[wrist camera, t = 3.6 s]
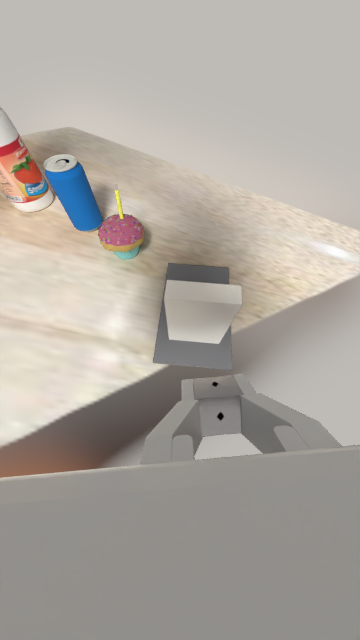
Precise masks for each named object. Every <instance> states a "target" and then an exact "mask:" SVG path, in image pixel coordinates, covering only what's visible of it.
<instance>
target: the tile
mask: <svg viewBox="0 0 360 640" xmlns="http://www.w3.org/2000/svg"><path fill="white" fill-rule="evenodd" d="M164 302H165V310H166V319H167V327H168V335H169V340H180V341H191V342H203V343H214V344H219V343H220V341H221V339H222V338H223V336H224V334H225V333H226V331H227V329H228V328H229V326H230V324H231V323H232V321H233V319H234V318H235V316H236V314H237V313H238V311H239V309H240V308H241V306H242V294H241V286H240V285H227V284H214V283H202V282H189V281H176V280H167V282H166V289H165V295H164Z"/></svg>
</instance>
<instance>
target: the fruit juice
mask: <svg viewBox="0 0 360 640" xmlns="http://www.w3.org/2000/svg"><path fill="white" fill-rule="evenodd" d="M0 189H1V191H2V192H3V193H4V194H5V196H6V197H7V198H8V199H9V201H10V202H11V203H12V204H13V205H14V206H15V207H16V208H17V209H18V210H20V211H23V212H36V211H39V210H42V209H44V208H46V207H48V206H49V205H50V204H51V203H52V201H53V194H52V192H51V190H50V188H49V186H48V184H47V183H46V181H45V179H44V177H43V176H42V174H41V172H40V170H39V169H38V167H37V165H36V163H35V162H34V160H33V158H32V156H31V155H30V153H29V151H28V149H27V148H26V146H25V144H24V142H23V141H22V139H21V137H20V135H19V134H18V132H17V130H16V128H15V127H14V125H13V124H12V122H11V120H10V119H9V117H8V116H7V114H6V113H5V112H4V110H3V109H2V108H1V107H0Z"/></svg>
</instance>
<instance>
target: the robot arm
mask: <svg viewBox="0 0 360 640" xmlns="http://www.w3.org/2000/svg"><path fill="white" fill-rule="evenodd" d="M192 380H193V382H192ZM238 433H242V435H244V436H245V437H246V438H247V439H248V440H249V441H250V442H251V443H252V444H253V445H254V446H255V447H256V448H257V449H259V450H260V451H261V452H262V453H263V454H256V455H245V456H233V457H222V458H213V459H201V460H195V458H194V456H195V453H196V451H197V449H198V447H199V445H200V442H201V440H202V437H205V436H213V435H221V434H238ZM0 640H360V445H352V446H342V445H341V444H340V443H339V442H338V441H337V440H336V439H335V438H334V437H333V436H332V435H331V434H330V433H329V432H328V431H327V430H326V429H325V428H324V427H323V426H322V425H321V424H320V423H319V421H316V420H314V419H312V418H310V417H308V416H306V415H304V414H302V413H300V412H298V411H296V410H294V409H292V408H290V407H288V406H285V405H283V404H281V403H279V402H277V401H275V400H273V399H271V398H269V397H267V396H265V395H263V394H260V393H258V394H257V393H256V391H255V390H254V388H253V387H252V386H251V384H250V383H249V381H248V380H247V378H246V377H245V375H244V374H237V375H230V376H222V377H214V378H200V379H188V380H182V401H179V402H178V403H177V404H176V405H175V406H174V407H173V409H172V410H171V411H170V412H169V413H168V414H167V415H166V416H165V417H164V418H163V419H162V421H161V422H160V423H159V424H158V425H157V426H156V427H155V428H154V429H153V430H152V431H151V433H150V434H149V435H148V436H147V437H146V440H145V444H144V449H143V454H142V459H141V463H140V465H135V466H126V467H115V468H103V469H92V470H81V471H70V472H59V473H49V474H39V475H38V474H37V475H26V476H16V477H5V478H0Z"/></svg>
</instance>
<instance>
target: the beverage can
mask: <svg viewBox="0 0 360 640" xmlns="http://www.w3.org/2000/svg"><path fill="white" fill-rule="evenodd" d="M43 165H44V167H45V174H46V176H47V178H48V180H49V182H50V184H51V185H52V187H53V189H54V191H55V193H56V194H57V196H58V198H59V200H60V202H61V203H62V205H63V207H64V209H65V211H66V212H67V214H68V216H69V218H70V220H71V221H72V223H73V225H74V227H75V228H76V229H78V230H80V231H84V232H91V231H94V230H96V229H98V228H99V227H100V225H101V224H102V222H103V218H102V216H101V213H100V211H99V208H98V205H97V203H96V200H95V198H94V195H93V193H92V190H91V187H90V185H89V182H88V180H87V177H86V175H85V172H84V169H83V167H82V165H81V164H80V163H79V162H78V161H77V159H76V157H75V156H73V155H69V154H60V155H55V156H52V157H50V158H48V159H47V160H45V162H44V164H43Z"/></svg>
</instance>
